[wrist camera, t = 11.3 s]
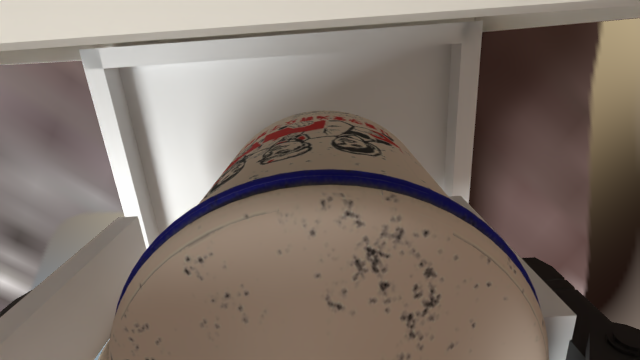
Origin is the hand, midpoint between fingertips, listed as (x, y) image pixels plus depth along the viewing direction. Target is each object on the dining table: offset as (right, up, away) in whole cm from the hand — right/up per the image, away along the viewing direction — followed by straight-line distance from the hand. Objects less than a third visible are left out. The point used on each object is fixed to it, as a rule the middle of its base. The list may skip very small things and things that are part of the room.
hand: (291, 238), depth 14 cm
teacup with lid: (0, +1, +2) cm, 2 cm away
